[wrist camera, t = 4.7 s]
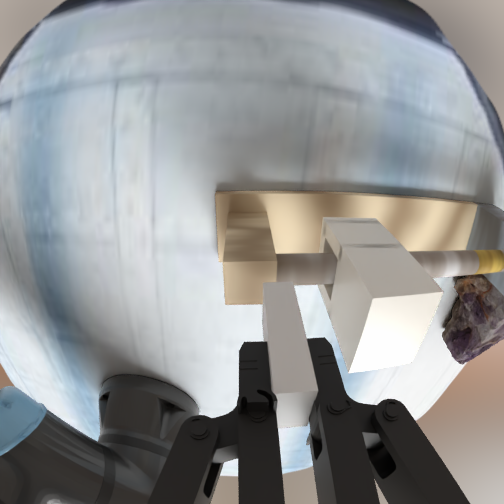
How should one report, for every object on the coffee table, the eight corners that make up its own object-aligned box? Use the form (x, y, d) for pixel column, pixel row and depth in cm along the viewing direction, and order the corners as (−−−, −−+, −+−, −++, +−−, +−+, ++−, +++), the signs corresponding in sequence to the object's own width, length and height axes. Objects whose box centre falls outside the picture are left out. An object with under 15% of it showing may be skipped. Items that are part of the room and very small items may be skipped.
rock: (426, 326, 33) (474, 317, 33) (447, 379, 26) (497, 362, 26) (461, 259, 26) (509, 256, 26) (498, 315, 19) (543, 302, 19)
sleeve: (315, 279, 22) (348, 373, 14) (322, 217, 19) (372, 298, 11) (364, 277, 22) (411, 362, 14) (375, 218, 19) (443, 291, 11)
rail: (219, 257, 26) (207, 351, 16) (215, 191, 23) (195, 261, 13) (480, 252, 26) (537, 306, 17) (494, 205, 24) (560, 251, 14)
